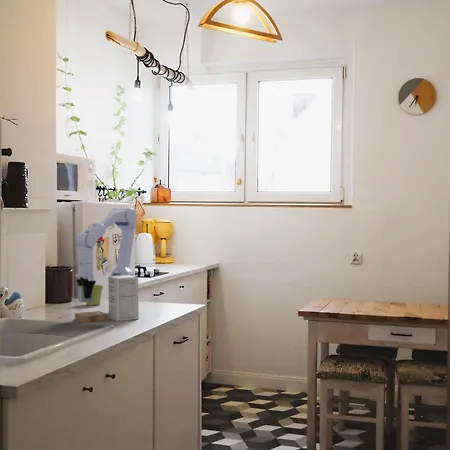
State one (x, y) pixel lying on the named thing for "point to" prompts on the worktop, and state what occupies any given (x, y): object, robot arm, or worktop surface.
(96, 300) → the plant pot
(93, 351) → the worktop surface
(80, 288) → the slate block
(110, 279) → the supplement box
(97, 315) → the tan flat square block
